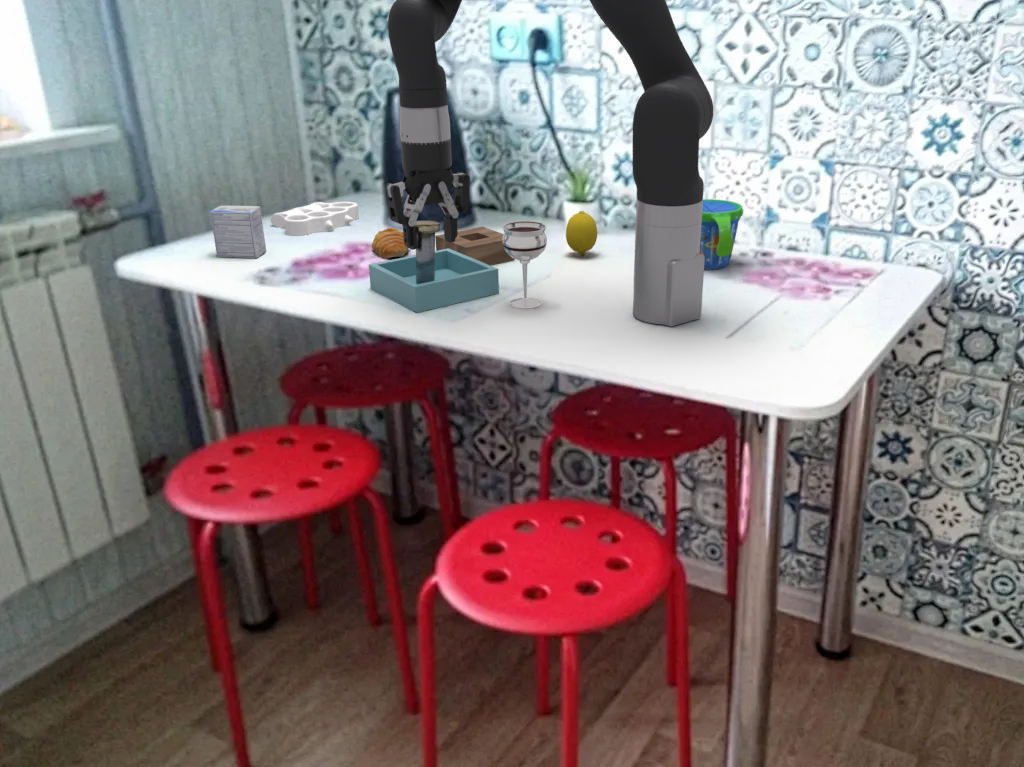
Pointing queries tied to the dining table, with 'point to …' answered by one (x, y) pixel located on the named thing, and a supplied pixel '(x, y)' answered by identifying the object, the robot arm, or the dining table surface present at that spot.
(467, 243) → the wooden square hole block
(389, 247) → the pastry
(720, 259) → the snack cup
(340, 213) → the knuckle duster
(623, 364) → the dining table surface
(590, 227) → the lemon
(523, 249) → the wineglass
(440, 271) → the pin tray
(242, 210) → the medicine box
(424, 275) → the lock pin
